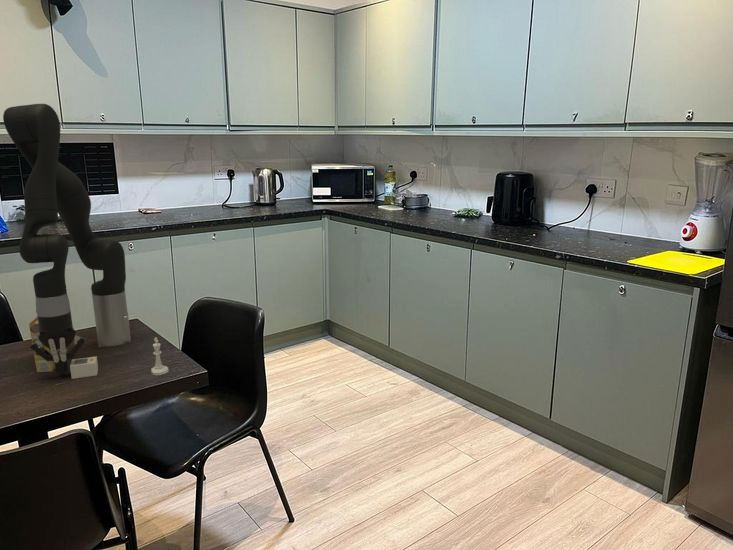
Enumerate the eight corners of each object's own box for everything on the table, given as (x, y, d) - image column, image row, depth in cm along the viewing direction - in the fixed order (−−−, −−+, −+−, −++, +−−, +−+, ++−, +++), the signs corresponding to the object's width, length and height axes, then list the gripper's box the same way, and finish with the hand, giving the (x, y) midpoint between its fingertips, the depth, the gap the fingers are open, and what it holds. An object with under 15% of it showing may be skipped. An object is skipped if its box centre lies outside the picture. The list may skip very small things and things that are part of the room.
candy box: (53, 375, 148) (45, 322, 145) (36, 377, 147) (28, 323, 144) (63, 363, 157) (56, 312, 153) (47, 364, 156) (39, 313, 152)
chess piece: (163, 366, 154) (160, 333, 152) (171, 371, 151) (168, 337, 148) (146, 371, 151) (143, 337, 148) (154, 377, 147) (150, 342, 145)
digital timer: (98, 368, 150) (96, 355, 149) (97, 375, 145) (95, 362, 144) (73, 371, 147) (71, 358, 147) (71, 378, 143) (69, 365, 142)
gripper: (83, 304, 146) (91, 364, 150) (27, 310, 141) (36, 372, 145) (81, 312, 139) (89, 375, 143) (21, 318, 134) (31, 383, 139)
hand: (62, 373), depth 144 cm, fingers closed
